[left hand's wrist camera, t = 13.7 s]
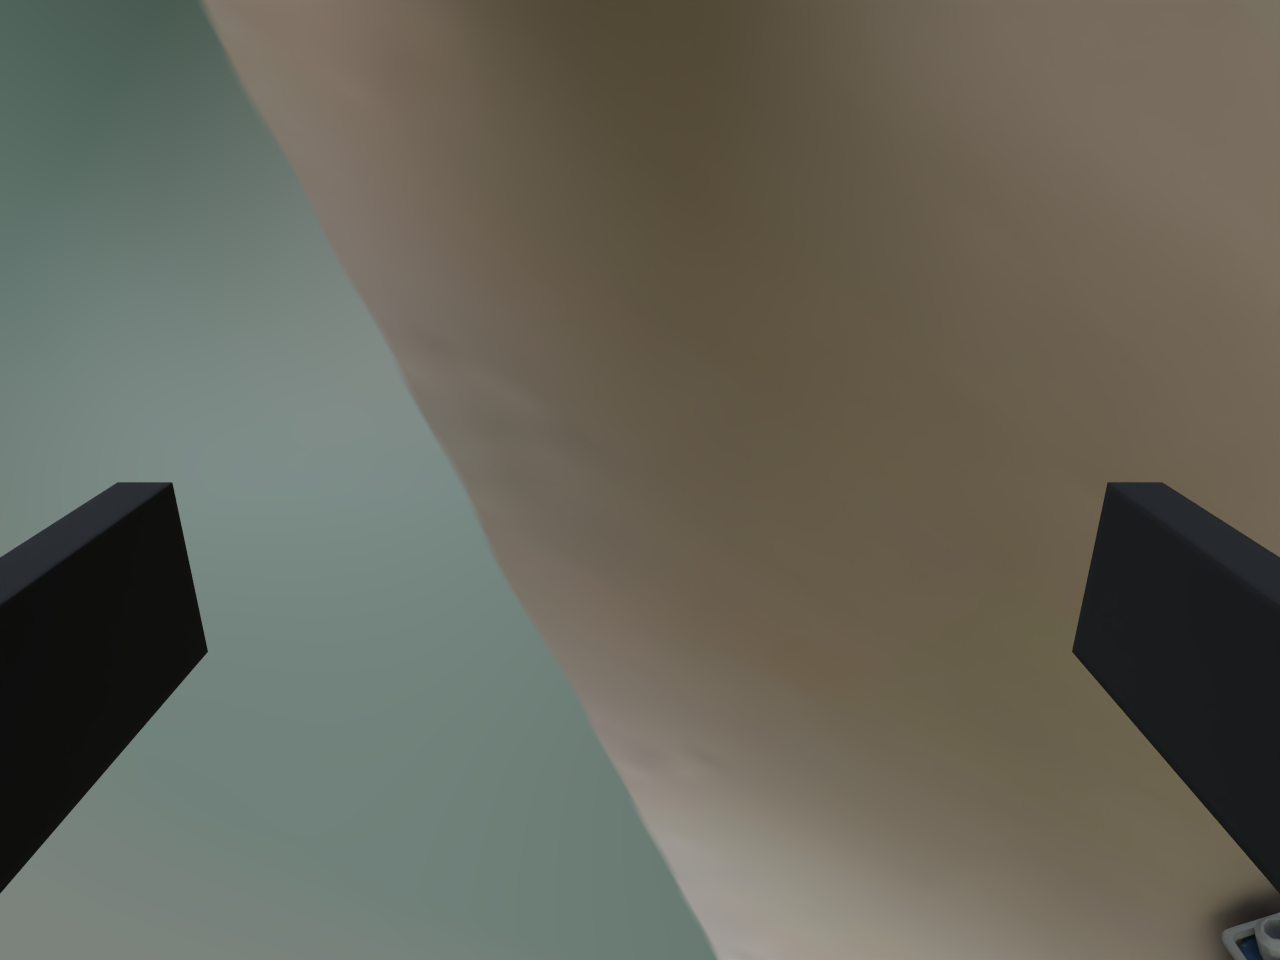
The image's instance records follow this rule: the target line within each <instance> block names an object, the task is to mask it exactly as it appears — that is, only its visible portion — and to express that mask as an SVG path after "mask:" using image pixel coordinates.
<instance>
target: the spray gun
mask: <svg viewBox="0 0 1280 960" xmlns="http://www.w3.org/2000/svg"><path fill="white" fill-rule="evenodd" d="M1247 936H1248V937H1247ZM1244 937H1246V938H1244ZM1241 938H1244V939H1243V940H1242V942H1241V944H1240V946H1239V948H1238V946H1237V945H1236V943H1235V942H1236V941H1237V940H1238V939H1241ZM1222 942H1223V944H1224V945H1225V947H1226V948H1227V950H1228V951H1229V952H1230V954H1231V955H1232V957H1233V958H1234V960H1280V913H1277V914H1273V915H1270V916H1267V917H1264V918H1260V919H1257V920H1254V921H1250V922H1247V923H1244V924H1241V925H1237V926H1234V927H1231V928H1228V929H1225V930H1224V931H1223V932H1222Z"/></svg>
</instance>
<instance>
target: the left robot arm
mask: <svg viewBox="0 0 1280 960" xmlns="http://www.w3.org/2000/svg"><path fill="white" fill-rule="evenodd" d="M207 652H208V650H207V645H206V640H205V636H204V631H203V626H202V621H201V617H200V612H199V607H198V603H197V598H196V593H195V588H194V583H193V579H192V574H191V569H190V564H189V560H188V555H187V550H186V545H185V541H184V536H183V531H182V526H181V522H180V517H179V512H178V507H177V503H176V498H175V493H174V488H173V484H172V483H171V482H170V483H169V482H168V483H164V482H163V483H162V482H161V483H159V482H158V483H156V482H153V483H152V482H151V483H146V482H144V483H143V482H140V483H139V482H138V483H136V482H135V483H134V482H128V483H127V482H124V483H123V482H121V483H119V482H118V483H116V484H115V485H113V486H111V487H110V488H108V489H107V490H105V491H104V492H102V493H100V494H99V495H97V496H96V497H94V498H93V499H91V500H90V501H88V502H87V503H85V504H83V505H82V506H80V507H79V508H77V509H75V510H74V511H72V512H71V513H69V514H68V515H66V516H64V517H63V518H61V519H60V520H58V521H57V522H55V523H54V524H52V525H50V526H49V527H47V528H46V529H44V530H43V531H41V532H40V533H38V534H36V535H35V536H33V537H32V538H30V539H29V540H27V541H25V542H24V543H22V544H21V545H19V546H18V547H16V548H14V549H13V550H11V551H10V552H8V553H7V554H5V555H4V556H2V557H0V893H1V892H2V891H3V890H4V888H5V887H6V886H7V885H8V884H9V883H10V881H11V880H12V879H13V878H14V877H15V876H16V874H17V873H18V872H19V871H20V870H21V869H22V867H23V866H24V865H25V864H26V863H27V862H28V860H29V859H30V858H31V857H32V856H33V855H34V854H35V852H36V851H37V850H38V849H39V848H40V847H41V845H42V844H43V843H44V842H45V841H46V839H47V838H48V837H49V836H50V835H51V834H52V832H53V831H54V830H55V829H56V828H57V827H58V826H59V824H60V823H61V822H62V821H63V820H64V819H65V817H66V816H67V815H68V814H69V813H70V812H71V810H72V809H73V808H74V807H75V806H76V805H77V803H78V802H79V801H80V800H81V799H82V798H83V796H84V795H85V794H86V793H87V792H88V791H89V789H90V788H91V787H92V786H93V785H94V784H95V782H96V781H97V780H98V779H99V778H100V777H101V776H102V774H103V773H104V772H105V771H106V770H107V769H108V767H109V766H110V765H111V764H112V763H113V762H114V760H115V759H116V758H117V757H118V756H119V755H120V753H121V752H122V751H123V750H124V749H125V748H126V746H127V745H128V744H129V743H130V742H131V741H132V739H133V738H134V737H135V736H136V735H137V733H138V732H139V731H140V730H141V729H142V728H143V727H144V725H145V724H146V723H147V722H148V721H149V720H150V718H151V717H152V716H153V715H154V714H155V713H156V711H157V710H158V709H159V708H160V707H161V706H162V704H163V703H164V702H165V701H166V700H167V699H168V697H169V696H170V695H171V694H172V693H173V692H174V691H175V689H176V688H177V687H178V686H179V685H180V684H181V682H182V681H183V680H184V679H185V678H186V676H187V675H188V674H189V673H190V672H191V671H192V669H193V668H194V667H195V666H196V665H197V664H198V663H199V661H200V660H201V659H202V658H203V657H204V656H205V654H206V653H207ZM1072 652H1073V653H1074V654H1075V656H1076V657H1077V658H1078V659H1079V660H1080V661H1081V663H1082V664H1083V665H1084V666H1085V667H1086V668H1087V670H1088V671H1089V672H1090V673H1091V674H1092V675H1093V677H1094V678H1095V679H1096V680H1097V681H1098V682H1099V684H1100V685H1101V686H1102V687H1103V688H1104V689H1105V691H1106V692H1107V693H1108V694H1109V695H1110V696H1111V698H1112V699H1113V700H1114V701H1115V702H1116V703H1117V704H1118V706H1119V707H1120V708H1121V709H1122V710H1123V711H1124V713H1125V714H1126V715H1127V716H1128V717H1129V718H1130V720H1131V721H1132V722H1133V723H1134V724H1135V725H1136V727H1137V728H1138V729H1139V730H1140V731H1141V732H1142V734H1143V735H1144V736H1145V737H1146V738H1147V739H1148V741H1149V742H1150V743H1151V744H1152V745H1153V746H1154V748H1155V749H1156V750H1157V751H1158V752H1159V753H1160V755H1161V756H1162V757H1163V758H1164V759H1165V760H1166V762H1167V763H1168V764H1169V765H1170V766H1171V767H1172V769H1173V770H1174V771H1175V772H1176V773H1177V774H1178V776H1179V777H1180V778H1181V779H1182V780H1183V781H1184V782H1185V784H1186V785H1187V786H1188V787H1189V788H1190V789H1191V791H1192V792H1193V793H1194V794H1195V795H1196V796H1197V798H1198V799H1199V800H1200V801H1201V802H1202V803H1203V805H1204V806H1205V807H1206V808H1207V809H1208V810H1209V812H1210V813H1211V814H1212V815H1213V816H1214V817H1215V819H1216V820H1217V821H1218V822H1219V823H1220V824H1221V826H1222V827H1223V828H1224V829H1225V830H1226V831H1227V833H1228V834H1229V835H1230V836H1231V837H1232V838H1233V840H1234V841H1235V842H1236V843H1237V844H1238V845H1239V847H1240V848H1241V849H1242V850H1243V851H1244V852H1245V854H1246V855H1247V856H1248V857H1249V858H1250V859H1251V860H1252V862H1253V863H1254V864H1255V865H1256V866H1257V867H1258V869H1259V870H1260V871H1261V872H1262V873H1263V874H1264V876H1265V877H1266V878H1267V879H1268V880H1269V881H1270V883H1271V884H1272V885H1273V886H1274V887H1275V888H1276V890H1277V891H1278V892H1279V893H1280V557H1278V556H1277V555H1275V554H1273V553H1272V552H1270V551H1269V550H1267V549H1266V548H1264V547H1262V546H1261V545H1259V544H1258V543H1256V542H1255V541H1253V540H1251V539H1250V538H1248V537H1247V536H1245V535H1244V534H1242V533H1241V532H1239V531H1237V530H1236V529H1234V528H1233V527H1231V526H1230V525H1228V524H1226V523H1225V522H1223V521H1222V520H1220V519H1219V518H1217V517H1216V516H1214V515H1212V514H1211V513H1209V512H1208V511H1206V510H1205V509H1203V508H1201V507H1200V506H1198V505H1197V504H1195V503H1194V502H1192V501H1190V500H1189V499H1187V498H1186V497H1184V496H1183V495H1181V494H1180V493H1178V492H1176V491H1175V490H1173V489H1172V488H1170V487H1169V486H1167V485H1165V484H1164V483H1162V482H1108V484H1107V488H1106V493H1105V498H1104V503H1103V507H1102V512H1101V517H1100V522H1099V526H1098V531H1097V536H1096V541H1095V545H1094V550H1093V555H1092V560H1091V564H1090V569H1089V574H1088V579H1087V583H1086V588H1085V593H1084V598H1083V602H1082V607H1081V612H1080V617H1079V621H1078V626H1077V631H1076V636H1075V640H1074V645H1073V650H1072Z"/></svg>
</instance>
